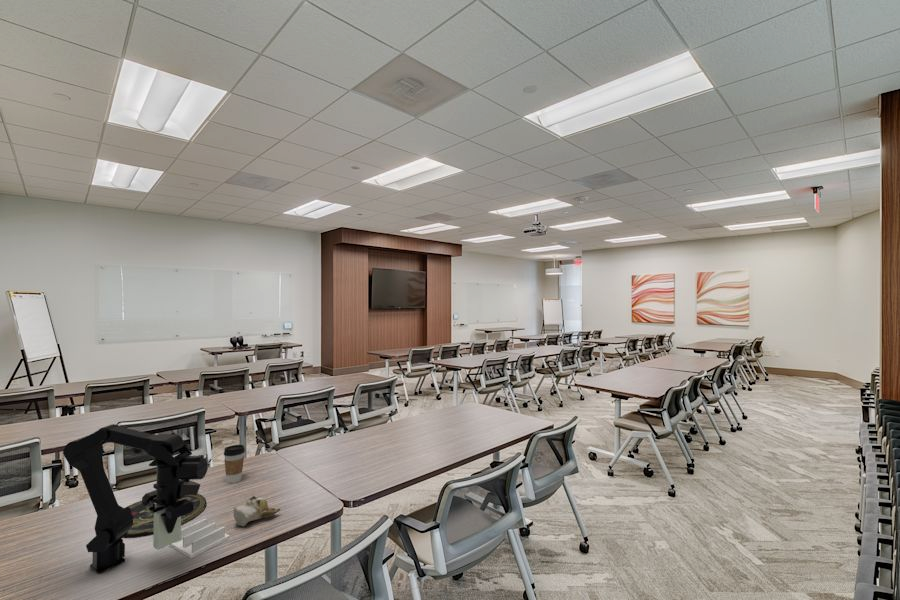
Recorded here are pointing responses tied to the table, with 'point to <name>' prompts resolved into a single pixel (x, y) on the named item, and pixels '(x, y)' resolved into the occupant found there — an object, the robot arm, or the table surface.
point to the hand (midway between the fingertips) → (167, 531)
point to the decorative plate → (145, 518)
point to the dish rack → (199, 538)
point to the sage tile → (165, 532)
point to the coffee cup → (234, 463)
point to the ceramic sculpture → (253, 511)
